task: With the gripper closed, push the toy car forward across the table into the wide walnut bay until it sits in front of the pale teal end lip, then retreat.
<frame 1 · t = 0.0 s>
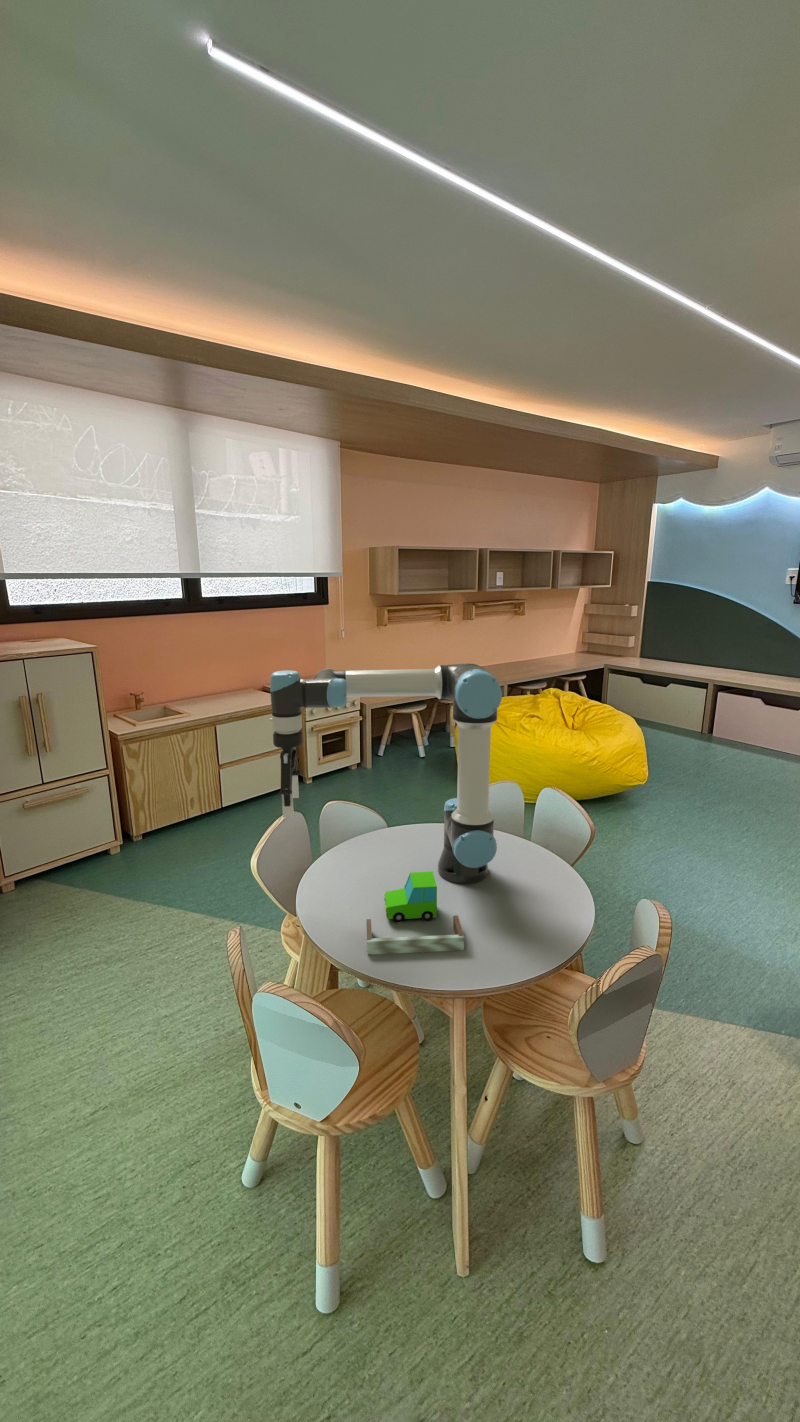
hand: (291, 807, 163), 28 cm above the table, fingers open, 13 cm apart
bay: (413, 939, 151), on the table
toy car: (409, 914, 163), on the table
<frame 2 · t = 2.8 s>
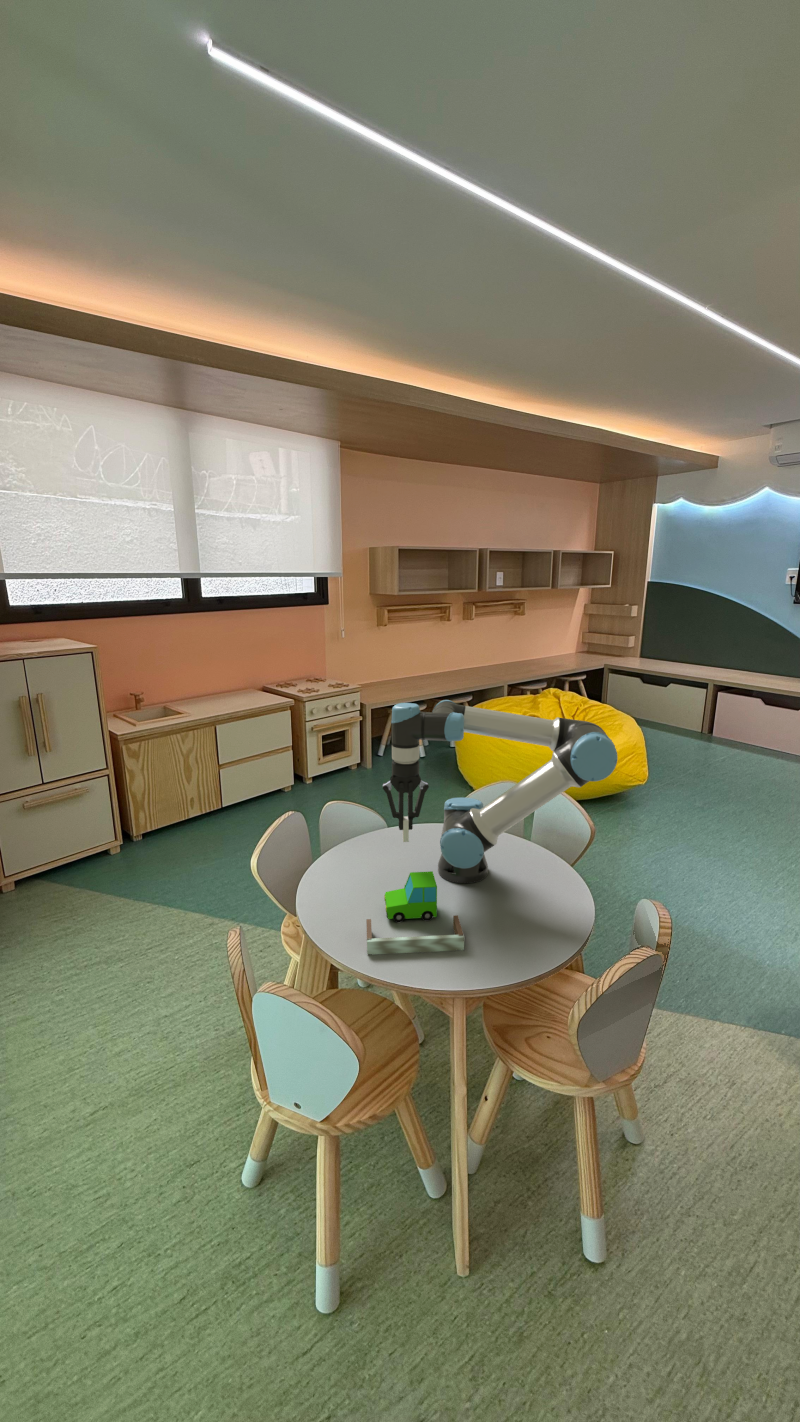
hand: (405, 839, 171), 16 cm above the table, fingers closed
nothing on the table moved.
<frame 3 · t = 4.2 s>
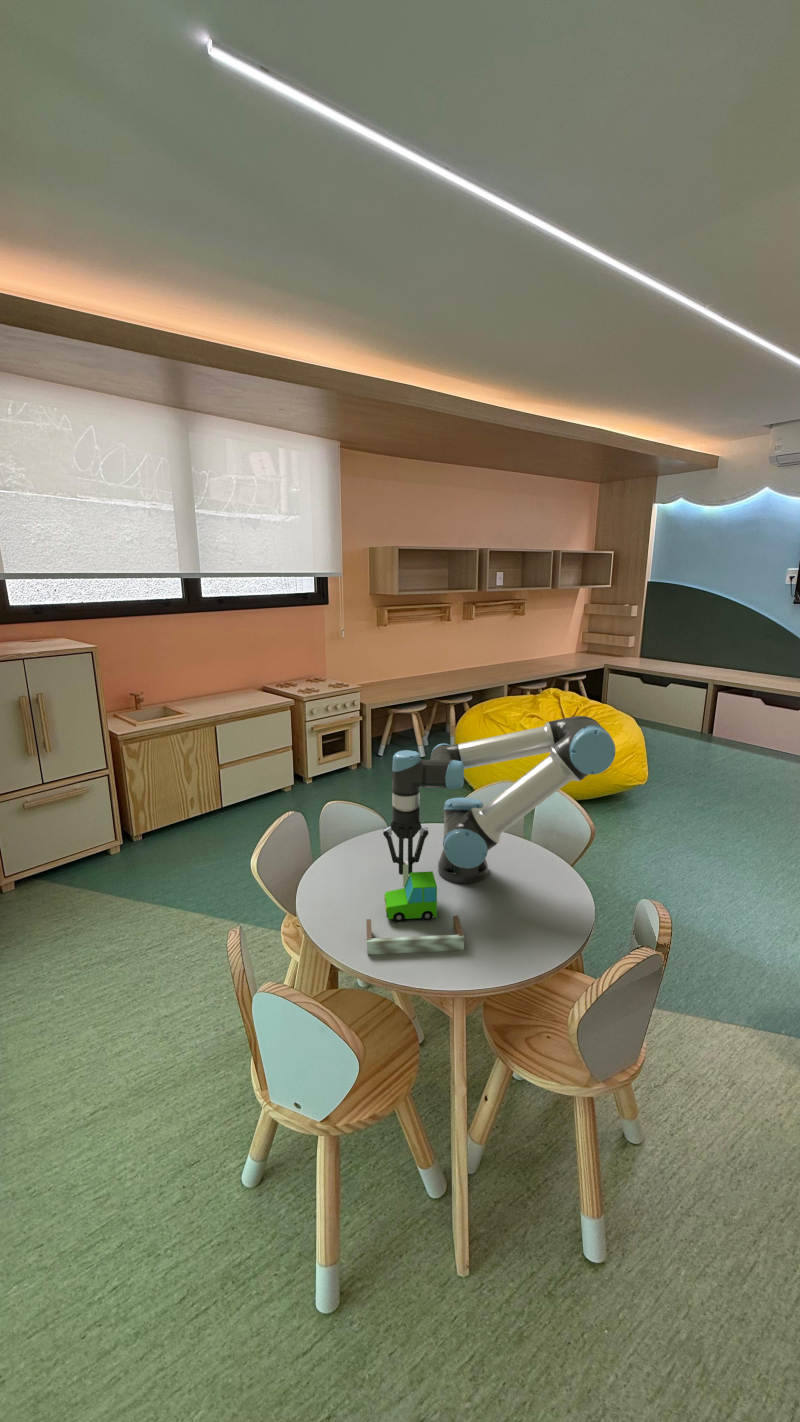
hand: (405, 883, 173), 3 cm above the table, fingers closed
nothing on the table moved.
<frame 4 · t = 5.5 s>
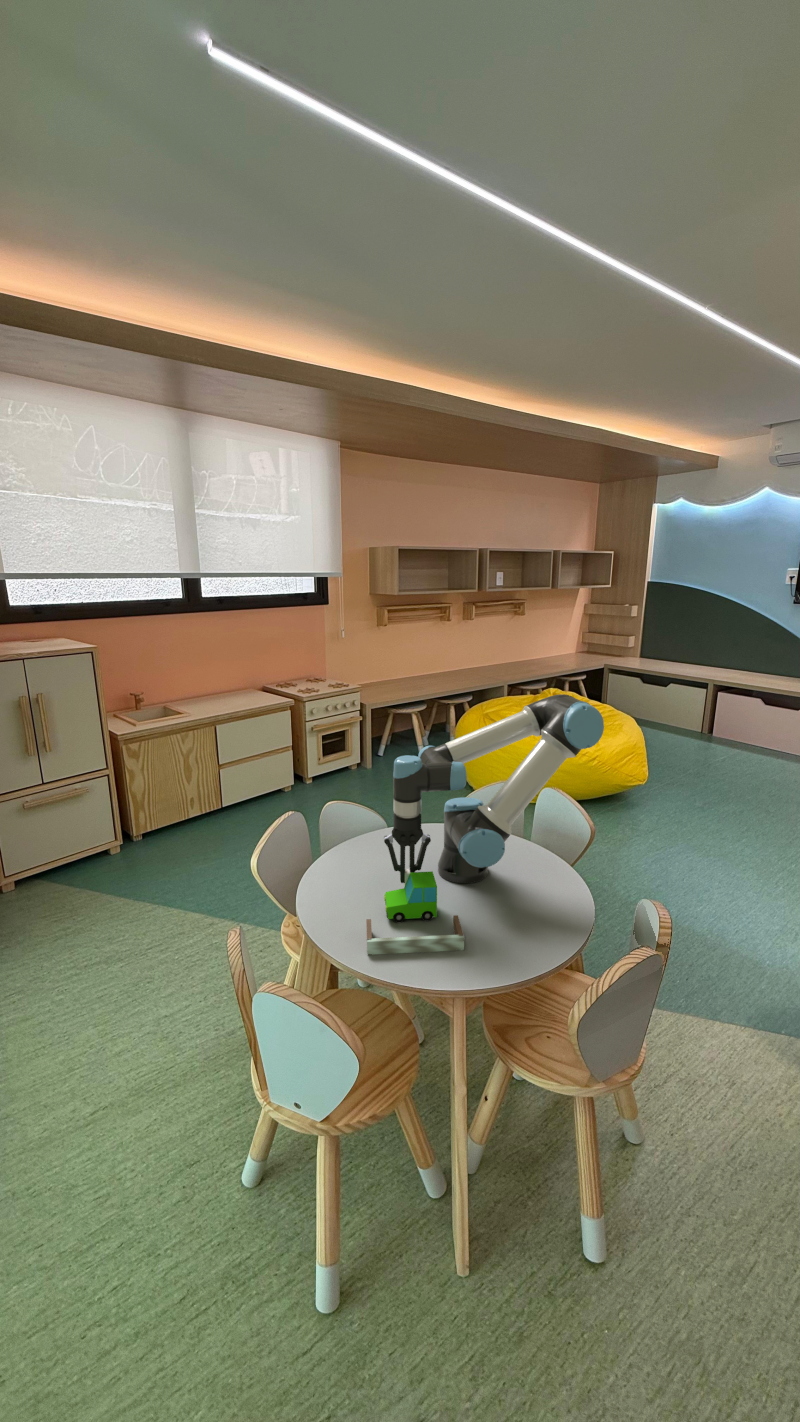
hand: (407, 892, 169), 3 cm above the table, fingers closed
toy car: (410, 914, 163), on the table, touching gripper
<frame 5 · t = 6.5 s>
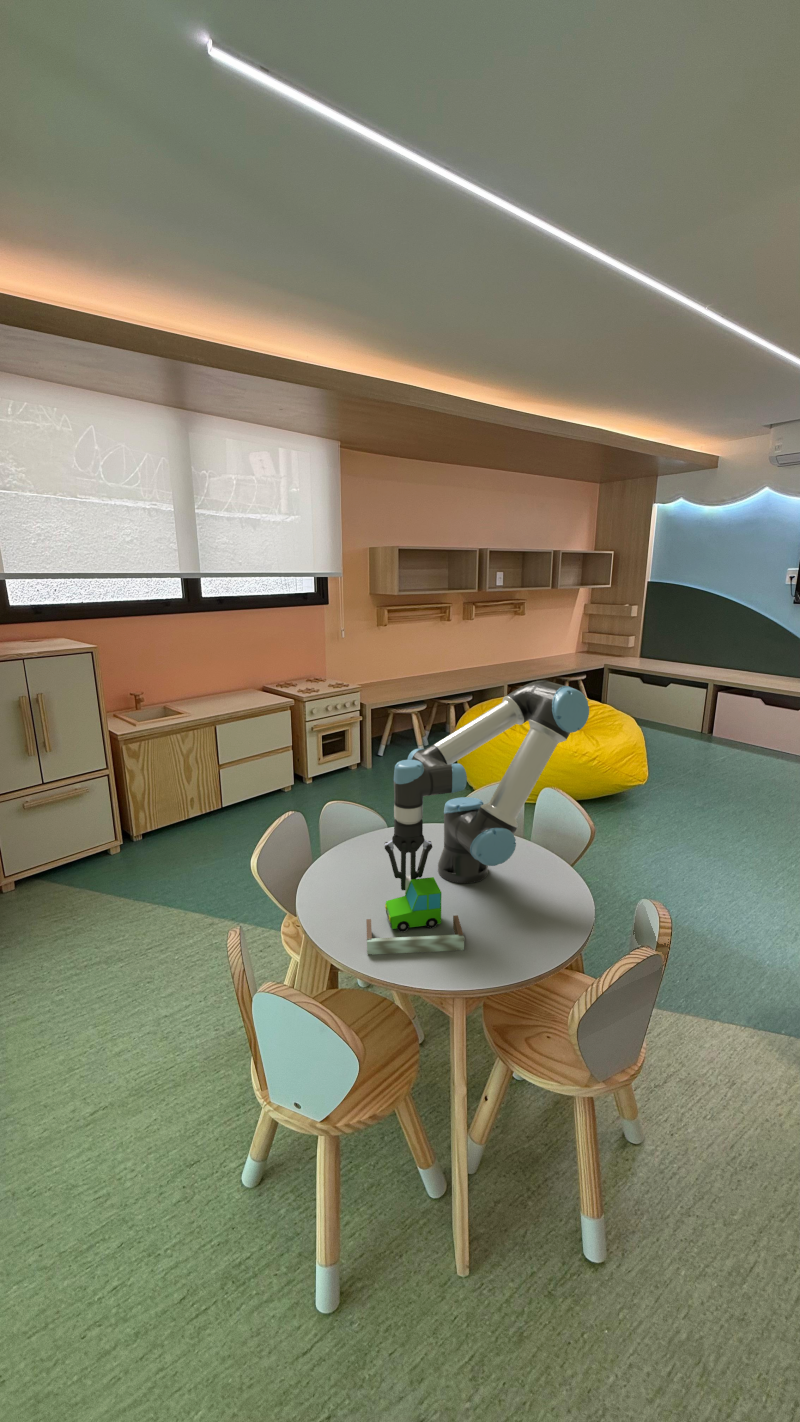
hand: (407, 900, 165), 3 cm above the table, fingers closed
toy car: (412, 922, 159), on the table, touching gripper
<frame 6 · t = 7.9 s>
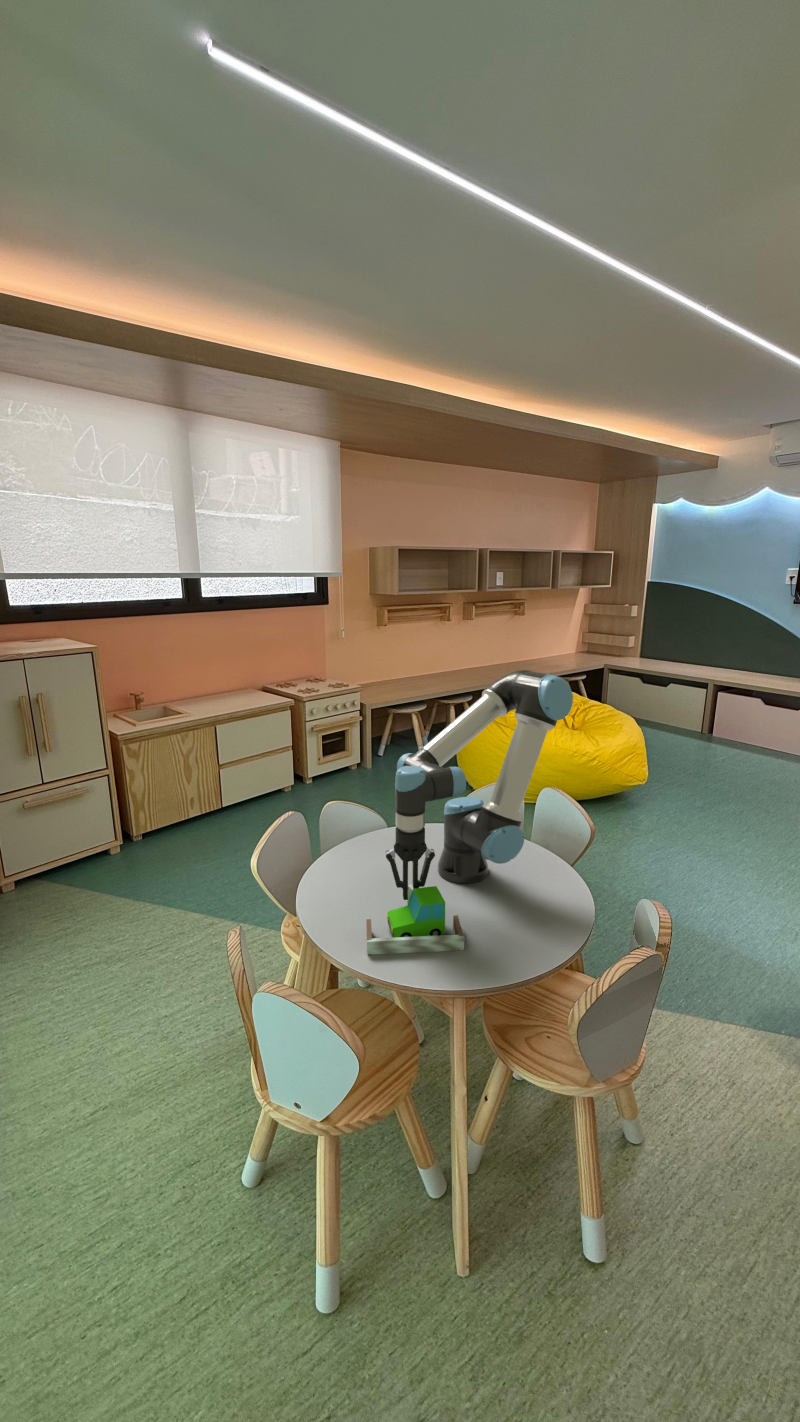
hand: (410, 909, 160), 2 cm above the table, fingers closed
toy car: (415, 933, 155), on the table, touching gripper
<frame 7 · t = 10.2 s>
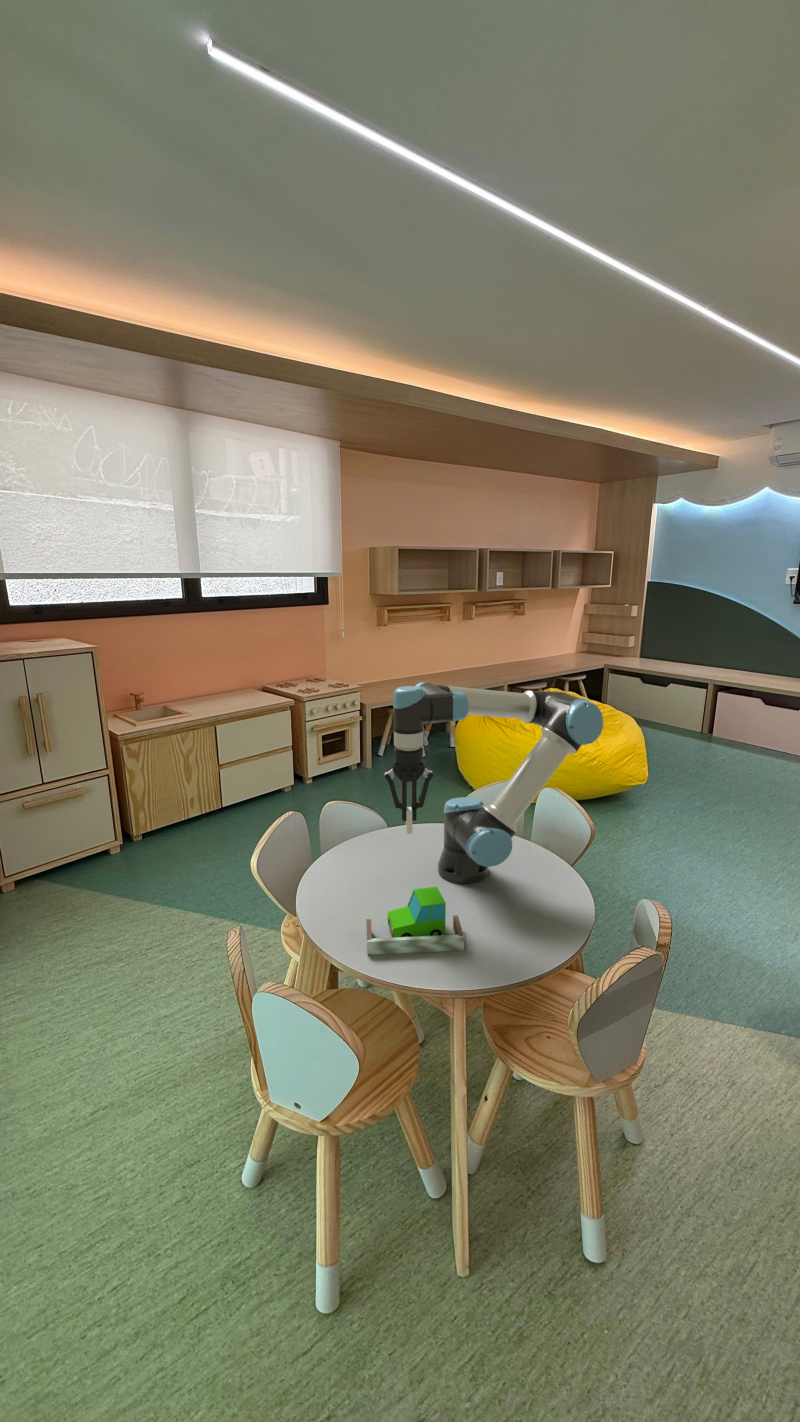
hand: (409, 831, 162), 22 cm above the table, fingers closed
toy car: (415, 933, 154), on the table
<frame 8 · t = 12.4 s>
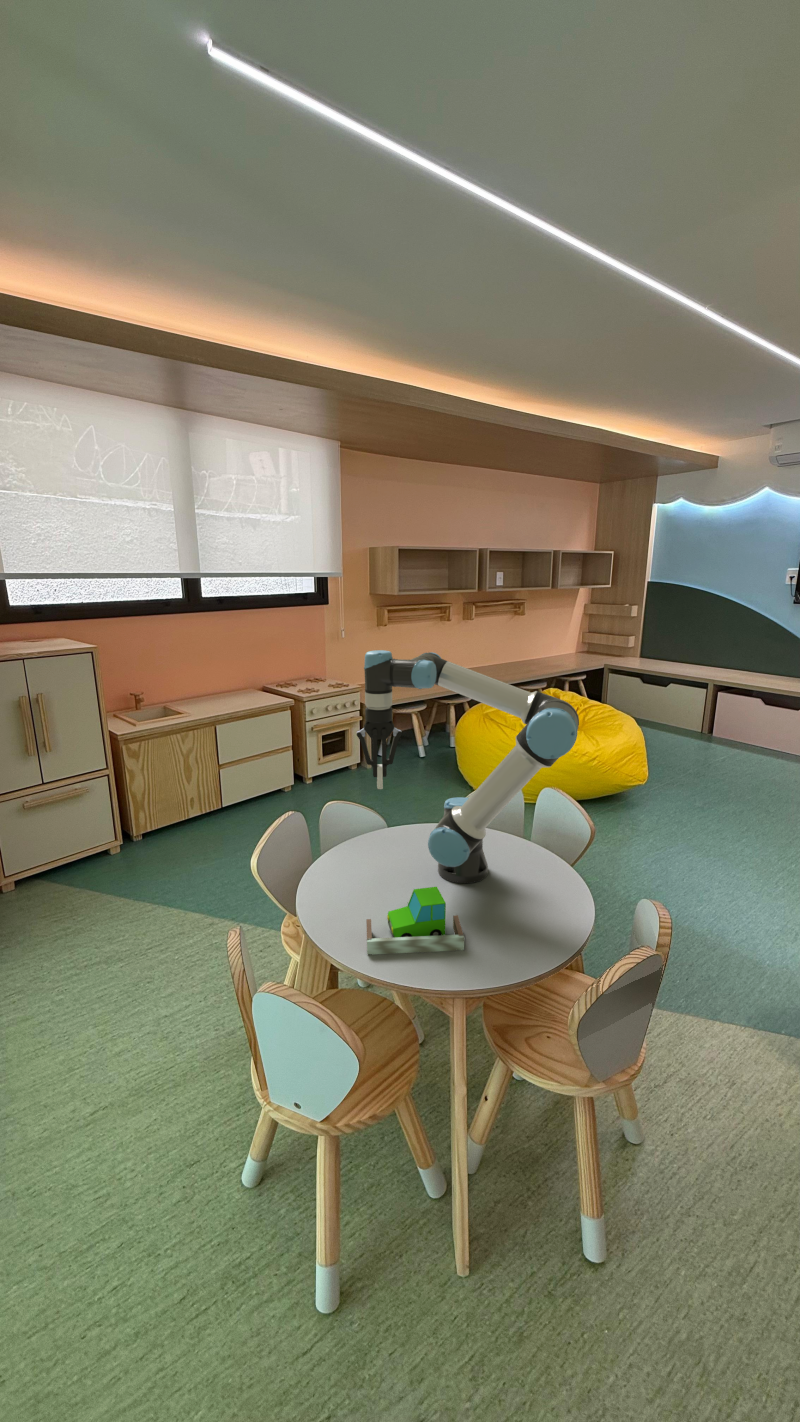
hand: (380, 787, 173), 29 cm above the table, fingers closed
nothing on the table moved.
at the end: toy car inside the target area (1.7 cm from its centre), on the table; toy car moved 9.0 cm from its start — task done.
